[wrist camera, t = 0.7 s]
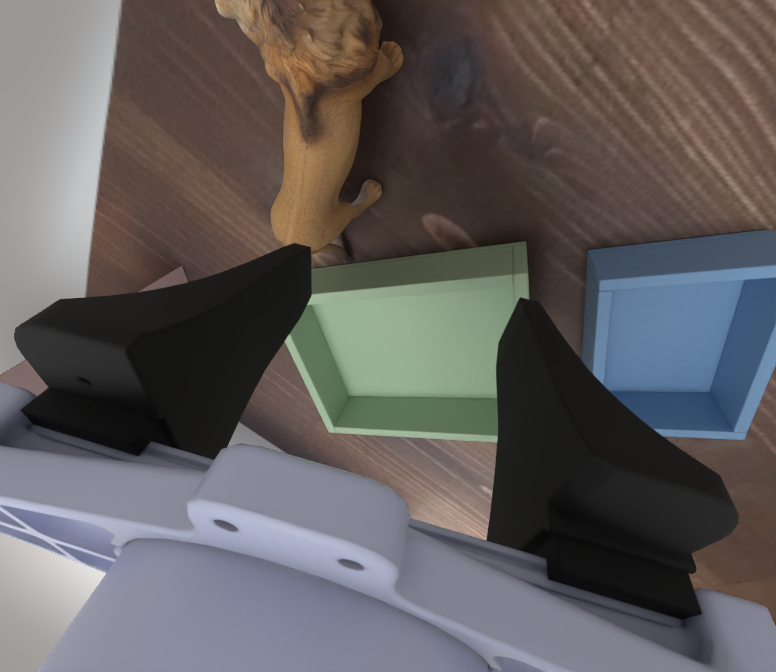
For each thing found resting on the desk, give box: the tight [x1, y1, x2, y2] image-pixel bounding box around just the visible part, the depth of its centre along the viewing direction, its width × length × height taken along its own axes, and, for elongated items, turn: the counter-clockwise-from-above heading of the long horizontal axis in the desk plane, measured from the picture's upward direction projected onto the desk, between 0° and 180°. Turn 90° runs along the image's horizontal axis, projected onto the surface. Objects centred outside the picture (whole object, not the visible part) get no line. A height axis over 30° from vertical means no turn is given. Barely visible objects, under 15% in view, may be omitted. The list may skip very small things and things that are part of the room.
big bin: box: [285, 241, 529, 442], centre depth 25 cm, size 15×12×4 cm
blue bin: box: [582, 229, 776, 440], centre depth 19 cm, size 10×8×4 cm
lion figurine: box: [215, 0, 404, 264], centre depth 16 cm, size 15×5×9 cm, turn 176°
